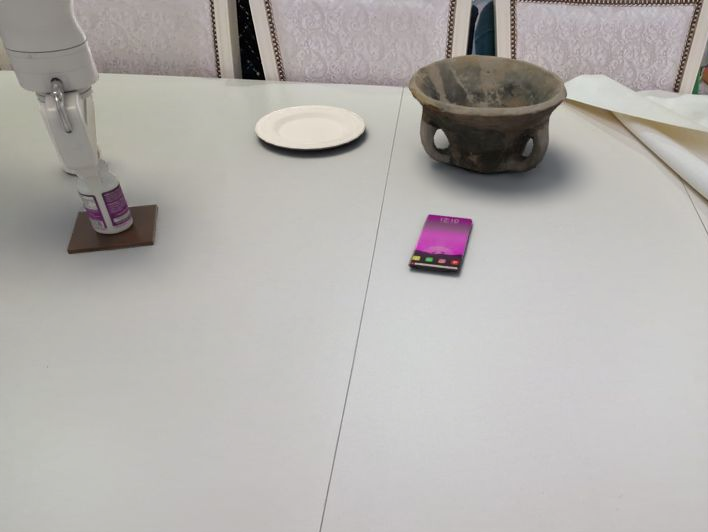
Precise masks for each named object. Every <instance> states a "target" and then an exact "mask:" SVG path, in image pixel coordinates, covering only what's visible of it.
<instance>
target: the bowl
mask: <svg viewBox="0 0 708 532" xmlns="http://www.w3.org/2000/svg"><path fill="white" fill-rule="evenodd" d="M408 90H409V91H410V93H411V95H412V97H413V98H414V99H415V100H416V101H417V102H418V103H419V104H420V106H421V109H422V111H421V119H420V125H419V135H420V143H421V145H422V147H423V149H424V151H425V153H426V154H427V155H428V156H429V158H430V159H432V160H433V161H436V162H438V163H446V164H448V165H451V166H456V167H459V168H462V169H466V170H470V171H474V172H479V173H483V174H485V173H488V174H489V173H501V172H515V173H525V172H530V171H533V170H534V169H535V168H537V167H538V166H539V164H541V162H542V161H543V159H544V157H545V156H546V153H547V151H548V148H549V143H550V117H551V115H552V113H553V112H554V111H555V110H556V109H558V107H559V106H561V104H563V102H564V101H565V100H566V99H567V97H568V91H567V88H566V85H565V82H564V80H563V79H562V78H561V76H560V75H558V74H556V73H555V72H554V71H551V70H548V69H546V68H545V67H543V66H540V65H537V64H535V63H532V62H530V61H527V60H521V59H516V58H511V57H510V58H509V57H502V56H496V55H483V54H482V55H480V54H466V55H464V54H463V55H458V56H457V55H456V56H453V57H449V58H443V59H440V60H436V61H434V62H432V63H430V64H427V65H424V66H422V67H420V68H418V69H417V70H416V71H415V72H414V73H413V74H412V76H411V78H410V79H409V82H408ZM439 130H441V131H442V132H443V134H444V135H445V137H446V139H447V141H448V143H449V144H448V146H447V147H445V148H440V147H437V145H436V142H435V135H436V133H437V131H439ZM530 140H532V147H531V151H530V153H529V154H528V155H524V154H525V151H526V149H527V146H528V143H529V141H530Z"/></svg>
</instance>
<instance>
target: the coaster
mask: <svg viewBox="0 0 708 532" xmlns="http://www.w3.org/2000/svg"><path fill="white" fill-rule="evenodd" d="M128 208H129V210H130V213H131V216H132V219H133V223H132V225H131V226H130V227H129V228H128V229H127V230H125V231H122V232H119V233H116V234H103V233H99V232H97V231H95V229H94V228H93V226H92V224H91V222H90V219H89V217H88V214H87V212H86V210H84V211H78V212H77V215H76V219H75V222H74V226H73V228H72V232H71V236H70V239H69V243H68V246H67V249H66V252H67V254H69V255H70V254H71V255H72V254H79V253H87V252H97V251H105V250H106V251H107V250H115V249H125V248H132V247H133V248H134V247H143V246H151V245H152V246H153V245H154V242H155V236H156V235H155V234H156V225H157V217H158V204H156V203H155V204H146V205H145V204H144V205H136V206H135V205H134V206H128Z"/></svg>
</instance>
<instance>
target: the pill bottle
mask: <svg viewBox="0 0 708 532" xmlns="http://www.w3.org/2000/svg"><path fill="white" fill-rule="evenodd" d="M96 167H97V170H98V172H99V174H100V177H101V180H102V188H100V189H93V190H91V189H88V188H87V185H86V183H85V180H84V178H83V177H82V175H81V174H80V172H79V171H78V169H77V170H75V172H76V175H75V176H77V178H78V179H77V180H76V184H75V188H76V190H77V192H78V195H79V197H80V199H81V202H82V205H83V207H84V209H85V211H86V212H87V214H88V217H89V219H90V222H91V224H92V226H93V228H94V229H95V231H97V232H99V233H103V234H116V233H119V232H122V231H125V230H127V229H128V228H129V227H130V226H131V225H132V223H133V219H132V216H131V213H130V210H129V208H128V207H129V205H128V202H127V200H126V197H125V195H124V192H123V189H122V186H121V184H120V183H121V182H120V181H119V178H118V177H117V176H116V175H115V174H114V173H111V172H110V168H109V166H108V163H107V162H106V160H103V159H98V165H97V166H96Z"/></svg>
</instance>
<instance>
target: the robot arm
mask: <svg viewBox="0 0 708 532" xmlns="http://www.w3.org/2000/svg"><path fill="white" fill-rule="evenodd" d="M78 21H79V20H78V18H77V16H76V11H75V0H0V39H1V42H2V46H3V48H4V51H5V53H6V56H7V59H8V60H9V62H10V65H11V68H12V70H13V72H14V74H15V77H16V80H17V82H18V84H19V86H20V88H22V89H24V90H25V91H27V92H32V93H35V96H36V98H37V100H38V99H39V100H41V101H43V102H45V111H46V115H47V119H48V122H49V125H50V128H51V131H52V133H53V136H54V139H55V142H56V144H57V147H58V150H59V152H60V155H61V157H62V160H63V162H64V164H65V165H66V167H67V168H68V169H70V170H77V169H78V171H79V172H80V174H81V175H82V177H83V178H84V180H85V183H86V185H87V188H88V189H91V190H93V189H100V188H102V180H101V177H100V174H99V172H98V170H97V167H96V166H97V165H98V159H99V158H100V151H99V149H98V146H97V140H98V137H97V127H96V125H97V124H96V113H95V112H96V111H95V110H96V109H95V103H94V97H93V93H94V90H93V85H94V84H96V83H97V82H98V81H99V79H100V74H99V71H98V67H97V64H96V62H95V59H94V56H93V54H92V53H93V52H92V50H91V47H90V44H89V41H88V37H87V35H86V33H85V30H83V28H82V27H81V25H80V23H79V22H78ZM39 100H38V101H39ZM96 137H97V138H96Z"/></svg>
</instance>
